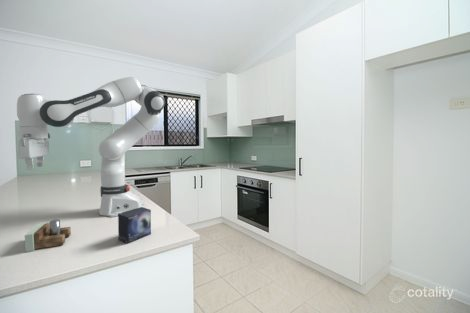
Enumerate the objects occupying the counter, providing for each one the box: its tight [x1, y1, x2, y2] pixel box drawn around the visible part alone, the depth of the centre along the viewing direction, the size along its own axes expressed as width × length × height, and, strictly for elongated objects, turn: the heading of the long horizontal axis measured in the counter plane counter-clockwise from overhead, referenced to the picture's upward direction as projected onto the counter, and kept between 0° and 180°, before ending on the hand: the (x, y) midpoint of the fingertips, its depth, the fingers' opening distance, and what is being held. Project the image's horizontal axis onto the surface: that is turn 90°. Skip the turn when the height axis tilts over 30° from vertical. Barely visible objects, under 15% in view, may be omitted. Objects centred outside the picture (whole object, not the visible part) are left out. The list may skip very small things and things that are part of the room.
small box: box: [117, 207, 152, 244], centre depth 87 cm, size 11×6×10 cm, turn 148°
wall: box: [24, 221, 47, 253], centre depth 80 cm, size 2×12×6 cm, turn 23°
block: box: [34, 222, 72, 250], centre depth 82 cm, size 8×10×6 cm
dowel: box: [48, 219, 61, 236], centre depth 82 cm, size 3×3×8 cm
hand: (35, 168), depth 91 cm, fingers open, 8 cm apart
